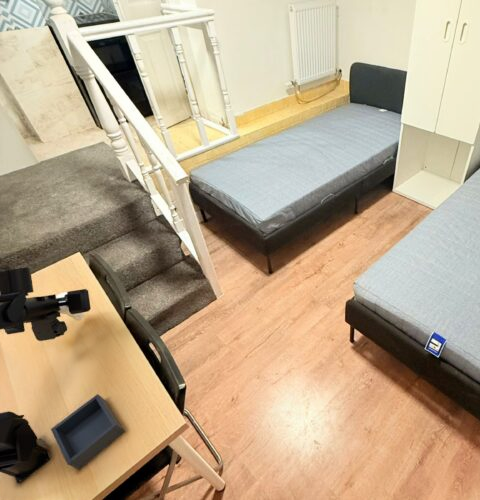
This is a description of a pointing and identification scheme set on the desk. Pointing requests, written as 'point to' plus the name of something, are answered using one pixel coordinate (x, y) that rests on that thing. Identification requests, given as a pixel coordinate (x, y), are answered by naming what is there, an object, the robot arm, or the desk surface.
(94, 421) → the bin
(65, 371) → the desk surface
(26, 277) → the robot arm
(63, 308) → the lightbulb
